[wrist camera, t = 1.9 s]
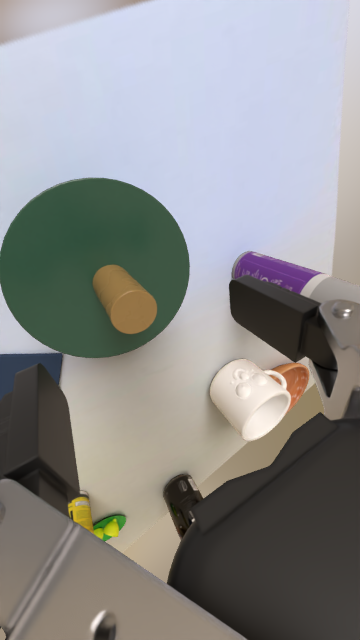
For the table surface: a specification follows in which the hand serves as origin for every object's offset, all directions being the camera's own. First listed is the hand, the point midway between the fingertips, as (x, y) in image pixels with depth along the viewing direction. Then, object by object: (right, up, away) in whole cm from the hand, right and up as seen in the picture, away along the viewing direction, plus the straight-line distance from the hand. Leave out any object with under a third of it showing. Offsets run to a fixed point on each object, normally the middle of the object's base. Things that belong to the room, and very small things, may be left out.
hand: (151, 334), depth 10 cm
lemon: (-13, -38, +35) cm, 53 cm away
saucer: (+21, -14, +42) cm, 49 cm away
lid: (-3, +3, +5) cm, 7 cm away
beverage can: (0, -34, +40) cm, 53 cm away
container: (+10, +8, +22) cm, 26 cm away
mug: (+11, -9, +32) cm, 35 cm away
